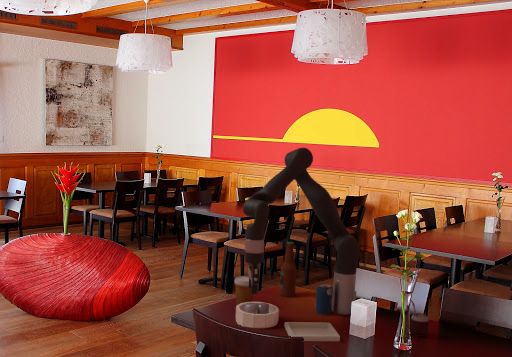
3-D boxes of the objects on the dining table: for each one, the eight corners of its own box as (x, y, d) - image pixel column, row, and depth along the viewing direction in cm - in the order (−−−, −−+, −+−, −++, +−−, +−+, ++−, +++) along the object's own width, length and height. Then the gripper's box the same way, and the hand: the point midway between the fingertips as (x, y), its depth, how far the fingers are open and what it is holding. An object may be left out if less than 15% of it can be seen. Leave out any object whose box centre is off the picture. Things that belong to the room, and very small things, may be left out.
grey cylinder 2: (268, 317, 230) (268, 303, 230) (268, 321, 225) (269, 306, 225) (256, 317, 230) (257, 302, 229) (257, 321, 225) (257, 306, 225)
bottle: (287, 292, 272) (290, 240, 269) (298, 296, 266) (301, 242, 264) (276, 294, 267) (279, 241, 265) (286, 298, 261) (290, 244, 259)
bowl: (274, 315, 237) (274, 302, 236) (280, 329, 220) (281, 315, 220) (234, 314, 235) (234, 301, 234) (237, 328, 218) (238, 314, 218)
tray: (329, 328, 225) (329, 322, 224) (339, 342, 210) (340, 336, 210) (284, 327, 222) (284, 322, 222) (291, 342, 208) (291, 336, 207)
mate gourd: (430, 335, 223) (433, 297, 221) (423, 340, 216) (426, 301, 215) (411, 330, 227) (414, 293, 226) (404, 335, 220) (407, 297, 219)
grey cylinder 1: (255, 317, 230) (256, 302, 229) (256, 321, 225) (257, 306, 225) (244, 317, 229) (244, 302, 229) (245, 321, 225) (246, 306, 224)
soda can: (334, 314, 241) (336, 287, 240) (319, 316, 239) (321, 287, 238) (326, 309, 248) (328, 282, 247) (312, 310, 245) (313, 283, 244)
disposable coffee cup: (254, 310, 242) (256, 282, 241) (232, 308, 242) (233, 280, 241) (255, 303, 252) (256, 276, 251) (233, 302, 252) (235, 275, 251)
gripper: (266, 254, 218) (264, 296, 219) (261, 246, 232) (259, 285, 233) (247, 254, 217) (245, 296, 218) (242, 246, 231) (241, 285, 232)
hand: (252, 290), depth 226 cm, fingers open, 8 cm apart
